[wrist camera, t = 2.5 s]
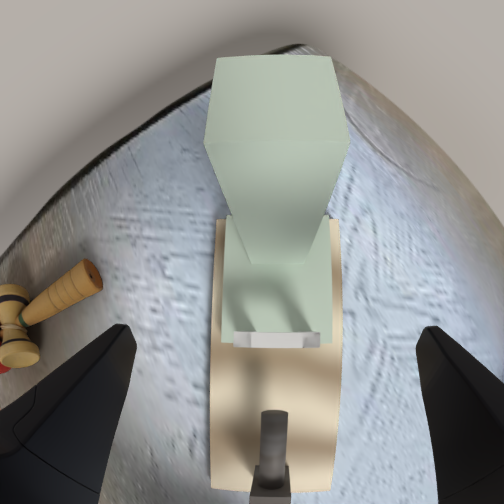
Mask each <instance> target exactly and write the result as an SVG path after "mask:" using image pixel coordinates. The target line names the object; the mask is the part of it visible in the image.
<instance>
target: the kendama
mask: <svg viewBox="0 0 504 504" xmlns="http://www.w3.org/2000/svg"><path fill="white" fill-rule="evenodd" d="M102 289H103V283H102V279H101V277H100V274H99V272H98V271H97V269H96V267H95V266H94V265H93V263H92V262H91V261H89V260H88V259H83V260H82V261H80V262H79V263H78V264H77V265H75V266H74V267H73V268H72V269H71V270H69V271H68V272H67V273H66V274H64V275H63V276H62V277H60V278H59V279H58V280H57V281H55V282H54V283H53V284H52V285H50V286H49V287H48V288H46V289H45V290H44V291H43V292H42V293H40V294H39V295H38V296H37V297H36V298H35V299H34V300H33V301H32V302H31V303H30V298H29V294H28V292H27V290H26V289H25V288H23V287H22V286H20V285H16V284H4V285H0V374H1V373H5V372H7V371H9V370H10V369H11V368H23V367H28V366H31V365H33V364H35V363H36V362H37V361H38V360H39V359H40V353H39V348H38V346H37V345H36V344H34V343H33V342H32V341H31V340H30V339H29V337H28V336H27V334H26V333H27V330H26V327H28V326H31V325H33V324H36V323H38V322H41V321H43V320H45V319H47V318H49V317H51V316H53V315H55V314H57V313H59V312H60V311H62V310H64V309H66V308H68V307H69V306H71V305H73V304H75V303H77V302H79V301H81V300H83V299H85V298H86V297H89V296H91V295H93V294H95V293H97V292H99V291H101V290H102Z"/></svg>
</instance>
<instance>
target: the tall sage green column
mask: <svg viewBox="0 0 504 504" xmlns="http://www.w3.org/2000/svg"><path fill="white" fill-rule="evenodd" d="M203 144H204V146H205V149H206V151H207V154H208V156H209V159H210V162H211V164H212V167H213V169H214V172H215V174H216V177H217V179H218V182H219V184H220V187H221V189H222V192H223V194H224V197H225V199H226V202H227V204H228V207H229V209H230V212H231V214H232V215H226V232H225V251H224V273H223V298H222V328H221V342H222V343H233V347H247V348H320V344H327V343H332V321H333V316H332V265H331V242H330V225H329V215H324V213H325V211H326V208H327V206H328V203H329V200H330V198H331V195H332V192H333V190H334V187H335V184H336V182H337V179H338V176H339V173H340V171H341V168H342V165H343V162H344V159H345V157H346V154H347V151H348V148H349V145H350V137H349V132H348V127H347V122H346V117H345V113H344V108H343V103H342V99H341V95H340V91H339V86H338V82H337V78H336V75H335V71H334V67H333V63H332V60H331V57H328V56H311V55H254V56H237V57H225V58H217V61H216V67H215V72H214V77H213V83H212V89H211V95H210V101H209V108H208V114H207V121H206V128H205V135H204V142H203Z"/></svg>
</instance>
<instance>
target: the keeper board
mask: <svg viewBox="0 0 504 504" xmlns="http://www.w3.org/2000/svg"><path fill="white" fill-rule="evenodd" d="M329 225H330V242H331V265H332V316H333V321H332V343H327V344H320V348H247V347H233V343H222V342H221V328H222V298H223V273H224V251H225V232H226V219H217V222H216V238H215V255H214V274H213V296H212V322H211V359H210V469H211V488H213V489H221V490H231V491H243V492H250V500H249V504H290V503H291V493H301V492H320V491H330V489H331V482H332V475H333V468H334V460H335V451H336V442H337V432H338V421H339V408H340V393H341V373H342V332H343V312H342V270H341V249H340V233H339V219H329Z"/></svg>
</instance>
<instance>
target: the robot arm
mask: <svg viewBox="0 0 504 504" xmlns="http://www.w3.org/2000/svg"><path fill="white" fill-rule="evenodd" d="M136 349H137V344H136V341H135V338H134V336H133V334H132V332H131V329H130V327H129V326H128V325H126V324H115V325H113V326H112V327H111V328H109V329H108V330H107V331H105V332H104V333H103V334H101V335H100V336H99V337H97V338H96V339H95V340H93V341H92V342H91V343H89V344H88V345H87V346H85V347H84V348H83V349H81V350H80V351H79V352H78V353H76V354H75V355H74V356H72V357H71V358H70V359H68V360H67V361H66V362H65V363H63V364H62V365H61V366H59V367H58V368H57V369H55V370H54V371H53V372H52V373H50V374H49V375H48V376H47V377H45V378H44V379H43V380H41V381H40V382H39V383H38V384H37V385H35V386H34V387H32V388H31V389H30V390H29V391H27V392H26V393H25V394H23V395H22V396H21V397H19V398H18V399H17V400H15V401H14V402H12V403H11V404H9V405H8V406H7V407H5V408H3V409H2V410H0V504H98V502H99V497H100V491H101V487H102V483H103V478H104V474H105V470H106V466H107V462H108V458H109V454H110V450H111V446H112V443H113V439H114V435H115V432H116V428H117V425H118V421H119V418H120V415H121V411H122V408H123V405H124V401H125V398H126V395H127V391H128V387H129V383H130V378H131V373H132V368H133V363H134V359H135V354H136ZM416 356H417V363H418V369H419V376H420V384H421V391H422V397H423V401H424V406H425V411H426V416H427V421H428V426H429V431H430V437H431V443H432V449H433V456H434V464H435V472H436V481H437V491H438V501H439V502H438V504H504V384H503V383H502V382H501V381H500V380H499V379H498V378H497V377H496V376H495V375H494V374H493V373H492V372H490V371H489V370H488V369H487V368H486V367H485V366H484V365H483V364H481V363H480V362H479V361H478V360H477V359H476V358H475V357H474V356H472V355H471V354H470V353H469V352H468V351H467V350H465V349H464V348H463V347H462V346H461V345H460V344H458V343H457V342H456V341H455V340H454V339H453V338H451V337H450V336H449V335H448V334H447V333H445V332H444V331H443V330H442V329H441V328H439V327H438V326H427V327H425V328H424V329H423V331H422V334H421V336H420V338H419V340H418V342H417V345H416Z"/></svg>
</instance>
